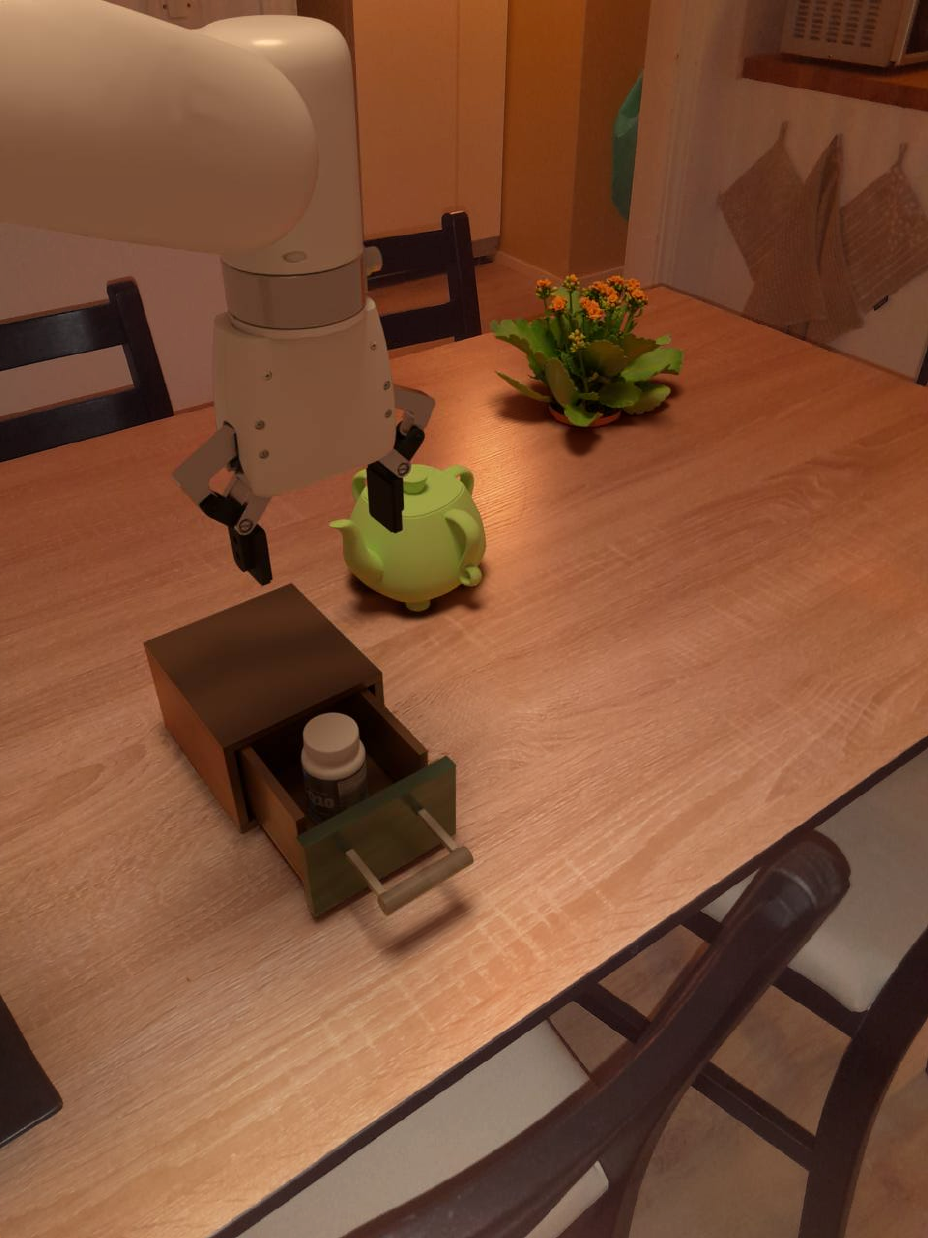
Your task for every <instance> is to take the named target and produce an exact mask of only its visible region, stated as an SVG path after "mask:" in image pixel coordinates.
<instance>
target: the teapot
mask: <svg viewBox="0 0 928 1238" xmlns="http://www.w3.org/2000/svg"><path fill="white" fill-rule="evenodd" d="M458 478H459V479H458ZM366 481H367V474H366V468H364V469H361V470H359V471H358V472H356V473H355V474H354V475H353V477H352V479H351V483H350V487H351V492H352V495H353V499H354V502H355V505H354V507H353V509H352V511H351V513H350V516H349V518H348V519H347V518H344V519H343V518H342V519H336V520H333V521H331V522H329V523H328V526H329V527H330V528H332V529H336V530H338V531H339V532H340V533H341V536H342V554H343V559H344V562H345V564H346V566H347V568H348V569H349V570H350V572H351V573H352V574H353V575H354V576H355V577H356V578H357V579H358V580H359V581H360V582H362V583H363V584H364V585H365V586H366V587H368V588H370V589H371V590H373V591H374V592H376V593H378V594H381V595H382V596H385V597H387V598H389V599H392V600H394V601H397V602H402V603H404V604H405V607H406V608H407V609H408V610H410V611H413V612H422V611H425V610H427V609H428V608H429V607H430V606H431V600H433V599H435V598H439V597H441V596H443V595H445V594H446V595H447V594H448V593H450V592H452V591H453V590H455V589H457V588H458V587H459V586H461V585H463V586H466V587H476V586H477V585H478V584H480V583H481V581H482V578H483V573H482V571H481V569H480V568H479V567H478V566H479V565H480V563H481V562H482V561H483V558H484V556H485V553H486V549H487V538H486V531H485V527H484V526H485V525H484V523H483V522H484V521H483V518H482V515H481V513H480V511H479V509H478V507H477V505H476V503H475V501H474V499H473V492H474V486H475V477H474V474H473V472H472V471H471V470H470V469H469V468H468V467H467V466H464V465H460V464H452V465H449V466H447V467H446V468H445V469H443V470H442V469H438V468H436V467H434V466H430V465H426V464H422V463H418V464H417V463H414V464H412V463H411V470H410V472H409V474H408V475H407V476H405V477H403V486H404V510H403V511H402V520H403V530H402V531H400V532H398V533H393V532H392V533H391V532H390V531H389V530H388V529H386V528H385V527H384V526H383V525H381V524H380V523H379V522H378V521H376V520H375V519H374V518H373V517H372V516H371V515H370V513H369V503H368V489H367V485H366Z"/></svg>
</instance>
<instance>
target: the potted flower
mask: <svg viewBox="0 0 928 1238" xmlns="http://www.w3.org/2000/svg"><path fill="white" fill-rule="evenodd" d="M562 282H563V283H561V286H559V287H558V286H553V287H552V286H551V285H552V281H550V280H549V278H545V279H544V280H543V279H539V280H537V281H536V286H535V287H534V290H535V291H534V293H535V294H534V295H535V297H536V298H537V299H541V300H542V301H543V305H544V310H545V316H544V317H537V318H536V319H533V320H531V322H530V323H529V321H528V320H527V319H524V318H522V317H519V318H516V319H515V321H513V320H512V319H510V318H509V319H507V318H505V319H502V320H501V321H500V323H499V322H498V321H497V320H496V319H493V320H492V321H491V322H489V328H490V331H491V334H492V333H493V336H494V338H495V339H497V340H499V341H502V342H505V343H508V344H510V345H512V346H513V347H515V348H517V349H518V350H520V351H521V352H522V353H524V354H525V355H526V359H527V362H529V363H528V368H529V370H531V371H532V373H533V374H534V376H532V375H530V374H527V376H528V377H529V378H531V379H533V380H535V381H542V383H544V384H545V385H546V386H547V390H548V391H550V392H551V395H549V394H544V395H542V394H540V393H538V392H537V391H536V390H533V389H531V388H529V387H528V386H527V385H525V384H523V383H521V382H520V381H518V380H516V379H513V377H510V376H508V375H506V374H504V373H502V372H498V371H497V370H494V373H495V375H497V376H498V377H499V378H501V379H502V380H503V381H505V382H506V383H507V384H509V385H510V386H511V387H512V388H514V389H516V390H517V391H519V392H520V393H522V394H523V395H524V396H526V397H528V398H531V399H533V400H536V401H539V402H544V403H548V410H549V413H550V414H551V415H552V416H553V418H554V419H555V420H556V421H558V422H561V423H562V424H566V425H570V426H573V427H578V428H597V427H600V426H601V427H603V426H605V425H608V424H610V423H612V422H616V421H617V420H618V419H619V417H620V416H621V412H622V411H623V412H625V413H627V414H629V415H630V416H634V414H635V415H643V414H644V413H645V412H647V413H649V412H650V411H651V412H652V411H654V410H655V408H658V407H660V406H661V404H662V402H665V400H666V398H667V397H669V395H670V394H671V388H670V387H669V386H667V385H665V384H664V383H656V382H654V381H650V380H651V379H652V378H654V377H656V376H658V375H659V374H664V375H665V374H666V375H673V376H679V375H680V372H681V371H682V365H683V362H684V361H683V360H684V351H683V350H681V348H674V347H672V346H668V347H664V346H667V345H670V344H672V338H671V336H672V334H671V333H667V334H662V335H661V336H659V337H657V338H656V339H653V338H645V337H643V336H641V337H637V334H636V333H634V332H632V331H633V329H634V328H635V327H636V326H637V325H638V323H639V322H638V321H635V320H634V318H639V317H640V316H642V314H643V307H644V306H648V305H649V304H650V303H649V297H648V296H647V295H645V294H644V290H641V289H642V287H641V282H639V280H638V279H635V278H633V277H631V278H630V279H625V280H624V277H622V276H621V275H612V276H611V277H607V278H606V280H605V281H601V280H600V281H599V280H597V281H594V282H592V284H591V285H589V286H587V288H585V287H583V288H582V289H581V292H579V290H580V288H581V287H580V285H581V282H580V281H579V278H578V277H577V276H576V275H575V274H574V273H573V274H570V275H567V276H566V277H565V280H562ZM605 282H606V283H605ZM623 293H624V297H623V298H622V299H621V295H622V294H623ZM618 294H619V295H618ZM549 297H551V299H552V301H551V303H550V304H549V306H547V301H546V300H547V299H548V298H549ZM623 302H625V304H624V305H622V303H623ZM638 310H639V311H638ZM637 312H638V314H637V315H635V314H636V313H637ZM627 313H629V315H628V317H627V320H626V323H625V325H624V328H623V329H621V326H622V324H623V322H624V320H625V317H626V314H627ZM603 314H605V316H604V317H603ZM551 315H553V316H554V317H551ZM602 318H603V320H604V321H603V320H601V319H602ZM662 346H663V347H664V348H663V347H662ZM648 381H650V382H648Z"/></svg>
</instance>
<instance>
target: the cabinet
mask: <svg viewBox="0 0 928 1238" xmlns="http://www.w3.org/2000/svg"><path fill="white" fill-rule="evenodd" d="M142 644H143V647H144V652H145V656H146V659H147V663H148V666H149V670H150V674H151V677H152V681H153V685H154V688H155V693H156V696H157V700H158V703H159V707H160V710H161V715H162V718H163V722H164V725H165V728H166V729H167V730H168V732H169V733H170V735H171V736H172V737H173V739H174V740H175V742H176V743H177V745H178V746H179V748H180V749H181V751H182V753H184V755H185V756H186V757H187V759H188V760H189V762H190V763H191V764H192V766H193V767H194V769H195V770H196V772H197V773H198V774H199V776H200V777H201V779H202V780H203V781H204V783H205V784H206V786H207V787H208V788H209V790H210V791H211V793H212V794H213V796H214V797H215V799H216V800H217V801H218V803H219V804H220V805H221V807H222V809H223V810H224V812H226V814H227V815H228V817H229V819H231V821H232V823H233V824H234V825H235V826H236V828H237V830H238V831H239V832H240V833H241V834H244V833H246V832H248V831H249V830H252V829H254V828H255V827H257V826H259V825H261V824H260V823H259V821H258V820H257V819H256V817H255V816H254V814H253V813H252V812H251V810H250V809H249V808H248V806H247V805H246V804H245V800H244V796H243V791H242V786H241V781H240V776H239V772H238V767H237V762H236V757H235V753H234V751H235V750H237V749H239V748H241V747H243V746H246V745H248V744H250V743H252V742H254V741H256V740H258V739H260V738H262V737H264V736H266V735H269V734H271V733H273V732H275V731H277V730H279V729H281V728H283V727H285V726H287V725H289V724H292V723H294V722H296V721H298V720H300V719H302V718H304V717H306V716H308V715H310V714H312V713H315V712H317V711H319V710H321V709H323V708H325V707H327V706H329V705H331V704H333V703H335V702H338V701H340V700H342V699H344V698H346V697H348V696H350V695H352V694H354V693H356V692H358V691H361V690H363V689H365V688H368V689H369V690H370V691H371V693H372V694H373V695H374V696H375V697H376V698H377V699H378V700H379V701H380V702H381V703H382V704H383V705H384V706H385V694H384V678H383V677H384V676H383V672H382V671H381V670H380V669H379V667H377V665H375V664H374V663H373V662H372V661H371V660H370V659H369V658H368V656H366V655H365V654H364V653H363V652H362V651H361V649H359V648H358V647H357V646H356V645H355V644H354V643H353V642H352V641H351V640H350V638H348V637H347V636H346V635H345V634H344V633H343V632H342V631H341V630H340V629H339V628H338V627H337V626H336V625H335V624H334V623H333V622H332V621H331V620H330V619H329V618H328V617H327V616H326V615H325V614H324V613H323V612H322V611H321V610H320V609H318V607H316V605H315V604H314V603H313V602H311V600H310V599H309V598H308V597H307V596H305V594H303V592H302V591H300V590H299V589H298V588H297V586H296V585H294V584H293V582H290V583H288V584H285V585H282V586H280V587H278V588H275V589H272V590H270V591H268V592H265V593H263V594H260V595H257V596H255V597H253V598H250V599H247V600H246V601H243V602H240V603H238V604H235V605H232V606H230V607H228V608H225V609H223V610H220V611H218V612H216V613H213V614H210V615H208V616H206V617H202V618H200V619H198V620H195V621H193V622H190V623H188V624H185V625H183V626H181V627H178V628H176V629H173V630H170V631H168V632H166V633H163V634H161V635H157V636H156V637H153V638H151V639H148V640H146V641H143V643H142Z"/></svg>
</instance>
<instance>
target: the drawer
mask: <svg viewBox="0 0 928 1238" xmlns="http://www.w3.org/2000/svg"><path fill="white" fill-rule="evenodd" d="M326 713H340V714H344V715H347V716H349V717H350V718H352V719H353V720H354V721H355V723H356V724H357V726H358V730H359V739H360V740H361V742H362V743H363V745H364V748H365V752H366V768H367V778H368V793H369V798H367V799H365V800H363V801H361V802H360V803H358V804H356V805H354V806H352V807H350V808H348V809H347V810H345V811H343V812H341V813H339V814H337V815H335V816H334V817H332V818H330V819H328V820H326V821H324V822H323V823H321V824H319V825H318V824H317V823H316V822H314V820H313V819H312V818H311V816H310V814H309V811H308V806H307V798H306V792H305V784H304V776H303V770H302V763H301V753H302V749H303V747H304V740H303V731H304V728H305V726H306V725H307V723H308V722H309V721H310V720H312V719H313V718H315V717H316V716H319V715H321V714H326ZM234 753H235V757H236V762H237V767H238V772H239V776H240V781H241V786H242V791H243V796H244V800H245V804H246V805H247V806H248V808H249V809H250V810H251V812H252V813H253V814H254V816H255V817H256V819H257V820H258V821H259V823H260V824H259V825H260V826H261V827H262V828H263V830H264V831H265V832H266V834H267V835H268V836H269V838H270V839H271V841H272V842H273V843H274V845H275V846H276V848H277V849H279V852H280V853H281V855H283V857H284V859H286V861H287V862H288V864H289V865H290V866H291V868H292V869H293V870H294V872H295V874H297V876H298V877H299V879H300V880H301V882H302V883H303V889H304V896H305V900H306V906H307V908H308V910H309V911H310V912H311V914H312V915H313V917H315V918H317V917H319V916H320V915H322V914H323V913H325V912H327V911H329V910H331V909H332V908H334V907H335V906H337V905H339V904H340V903H342V902H345V901H346V900H347V899H349V898H351V897H352V896H354V895H356V894H357V893H359V892H361V891H363V890H364V889H366V888H367V887H368V888H370V890H371V891H372V892H373V893H374V895H375V896H376V899H377V901H376V902H377V904H378V906H379V908H380V910H381V912H382V913H383V914H384V915H385V916H387V917H389V916H391V915H392V914H394V913H395V912H397V911H398V910H400V909H402V908H404V907H405V906H407V905H409V904H410V903H411V902H413V901H415V900H416V899H419V898H420V897H422V896H423V895H425V894H426V893H429V891H432V890H433V889H435V888H436V887H438V886H439V885H441V884H443V883H444V882H446V881H448V880H449V879H451V878H452V877H454V876H456V875H457V874H459V873H461V872H462V871H464V870H466V869H467V868H468V867H470V866H472V865H474V862H475V859H474V856H473V854H472V852H471V851H470V849H469V847H467V846H466V845H461V846H459V844H458V843H456V841H455V840H454V839H453V838H452V837H454V836H455V835H457V765H456V763H455V762H454V761H453V760H452V759H451V758H450V757H449V756H448V755H444V756H443V757H440V758H439V759H437V760H435V761H434V762H432V763H430V764H429V750H428V749H427V748H426V747H425V746H424V745H423V743H422V742H420V740H419V739H418V738H417V737H415V735H414V734H412V732H411V731H410V730H409V729H408V728H407V727H406V726H405V725H404V724H403V723H402V722H401V721H400V720H399V719H398V718H397V717H396V716H395V715H394V714H393V713H392V712H391V711H390V710H389V709H388V708H387V707H386V706H385V704H384V705H383V704H382V703H381V702H380V701H379V700H378V699H377V698H376V697H375V696H374V695H373V694H372V693H371V691H370V690H369V689H368V688H365V689H363V690H361V691H358V692H356V693H354V694H352V695H350V696H348V697H346V698H344V699H342V700H340V701H338V702H335V703H333V704H331V705H329V706H327V707H325V708H323V709H321V710H319V711H317V712H315V713H312V714H310V715H308V716H306V717H304V718H302V719H300V720H298V721H296V722H294V723H292V724H289V725H287V726H285V727H283V728H281V729H279V730H277V731H275V732H273V733H271V734H269V735H266V736H264V737H262V738H260V739H258V740H256V741H254V742H252V743H250V744H248V745H246V746H243V747H241V748H239V749H237V750H235V751H234ZM440 844H441V845H442V846H443V847H444V848H445V849H446V850H447V851H448V852H449V853H448V854H446V855H445V856H443V857H441V858H439V859H438V860H436V861H435V862H433V863H432V864H430V865H428V866H426V867H425V868H423V869H421V870H420V871H418V872H417V873H415V874H413V875H411V876H410V877H408V878H406V879H405V880H403V881H401V882H400V883H398V884H397V885H395V886H393V887H392V888H390V889H388V890H387V889H386V888H385V887H384V885H383V884H382V882H381V881H379V880H381V879H383V878H385V877H386V876H388V875H389V874H392V873H393V872H395V871H396V870H398V869H399V868H401V867H403V866H405V865H406V864H408V863H410V862H412V861H414V860H415V859H416V858H418V857H420V856H422V855H423V854H425V853H427V852H429V851H430V850H432V849H433V848H435V847H437V846H438V845H440Z"/></svg>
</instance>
